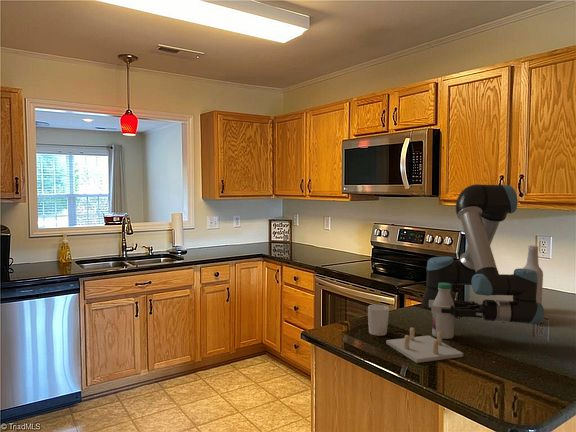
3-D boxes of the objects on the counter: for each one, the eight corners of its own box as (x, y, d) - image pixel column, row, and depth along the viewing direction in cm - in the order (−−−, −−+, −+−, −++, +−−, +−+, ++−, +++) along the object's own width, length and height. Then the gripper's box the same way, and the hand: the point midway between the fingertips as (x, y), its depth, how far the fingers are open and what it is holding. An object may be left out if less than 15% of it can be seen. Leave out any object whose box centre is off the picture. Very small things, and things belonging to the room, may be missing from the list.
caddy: (386, 343, 153) (386, 328, 153) (428, 338, 159) (429, 324, 159) (416, 362, 136) (417, 345, 136) (462, 356, 142) (463, 340, 142)
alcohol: (544, 310, 200) (547, 246, 198) (536, 313, 194) (539, 247, 193) (524, 306, 207) (527, 244, 205) (516, 309, 201) (519, 245, 200)
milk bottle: (457, 336, 162) (458, 283, 161) (448, 341, 157) (450, 286, 156) (437, 331, 168) (439, 280, 166) (428, 335, 162) (430, 283, 161)
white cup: (389, 331, 167) (390, 305, 166) (387, 337, 160) (387, 311, 159) (368, 328, 170) (369, 303, 169) (365, 334, 162) (366, 308, 162)
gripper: (502, 329, 148) (433, 324, 153) (487, 312, 168) (426, 308, 173) (503, 307, 148) (434, 303, 152) (488, 293, 168) (427, 290, 172)
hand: (430, 306), depth 162 cm, fingers closed on milk bottle, 7 cm apart
